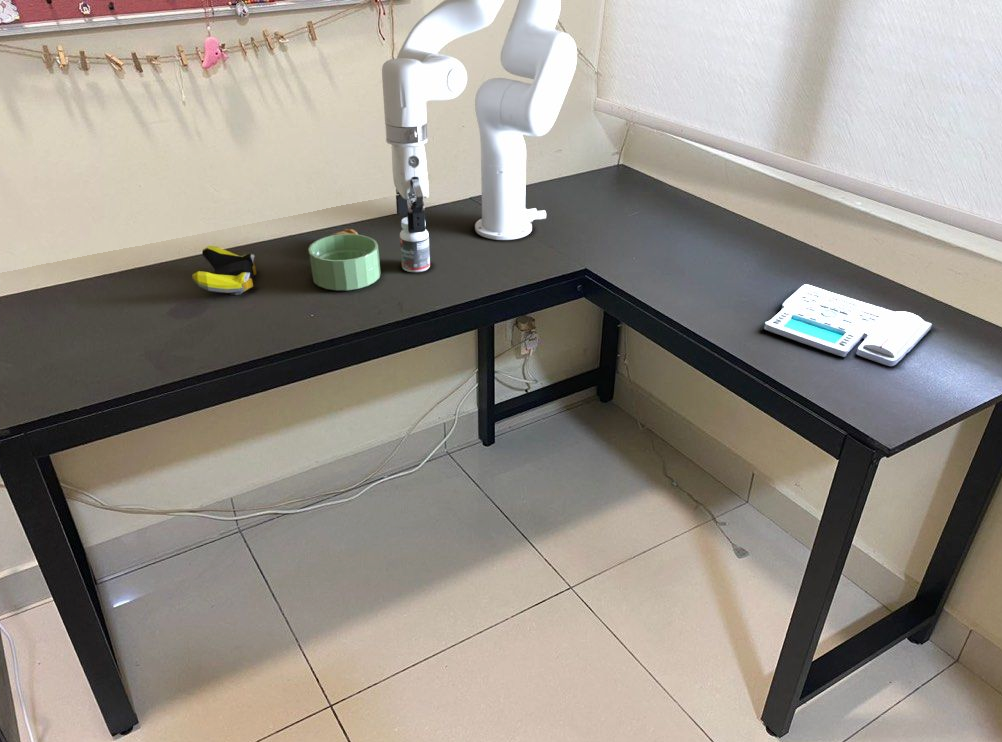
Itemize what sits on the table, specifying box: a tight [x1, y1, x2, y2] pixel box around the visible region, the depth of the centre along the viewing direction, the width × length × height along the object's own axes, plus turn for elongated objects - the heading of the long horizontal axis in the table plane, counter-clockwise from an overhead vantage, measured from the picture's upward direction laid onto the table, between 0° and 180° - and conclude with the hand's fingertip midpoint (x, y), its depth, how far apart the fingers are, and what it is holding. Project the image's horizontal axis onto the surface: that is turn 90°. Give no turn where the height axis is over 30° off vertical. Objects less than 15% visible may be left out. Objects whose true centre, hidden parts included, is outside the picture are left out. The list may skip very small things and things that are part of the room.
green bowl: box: [307, 233, 381, 291], centre depth 154 cm, size 13×13×6 cm
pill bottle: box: [399, 216, 431, 273], centre depth 158 cm, size 6×6×10 cm
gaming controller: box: [191, 245, 257, 296], centre depth 152 cm, size 15×6×10 cm
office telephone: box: [763, 283, 933, 367], centre depth 139 cm, size 23×3×20 cm
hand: (410, 223), depth 155 cm, fingers open, 9 cm apart
